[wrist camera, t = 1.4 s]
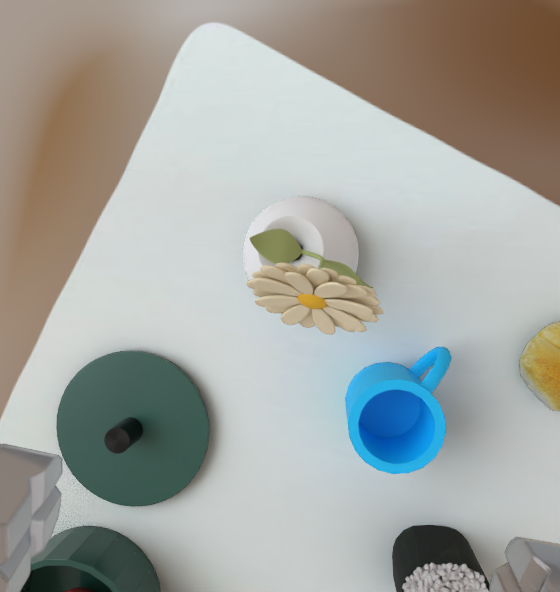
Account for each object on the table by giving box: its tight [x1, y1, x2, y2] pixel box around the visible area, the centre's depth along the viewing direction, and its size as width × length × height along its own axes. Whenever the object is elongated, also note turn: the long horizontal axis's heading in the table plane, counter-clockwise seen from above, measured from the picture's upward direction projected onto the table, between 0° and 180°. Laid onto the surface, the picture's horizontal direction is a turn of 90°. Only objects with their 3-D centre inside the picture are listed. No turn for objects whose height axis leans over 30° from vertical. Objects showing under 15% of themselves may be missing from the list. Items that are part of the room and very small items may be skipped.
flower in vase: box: [243, 196, 383, 335], centre depth 39 cm, size 13×11×25 cm
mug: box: [346, 347, 451, 474], centre depth 47 cm, size 12×8×8 cm
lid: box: [57, 351, 209, 506], centre depth 51 cm, size 16×16×5 cm
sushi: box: [392, 525, 490, 592], centre depth 47 cm, size 8×8×8 cm
